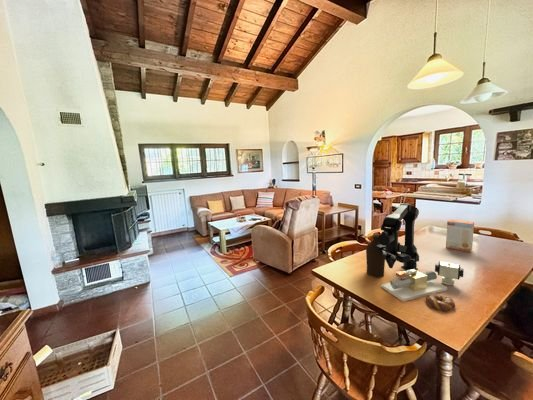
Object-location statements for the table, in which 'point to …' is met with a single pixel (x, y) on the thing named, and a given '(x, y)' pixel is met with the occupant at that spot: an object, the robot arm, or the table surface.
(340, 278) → the table surface
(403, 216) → the robot arm
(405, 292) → the mount board
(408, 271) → the valve lever
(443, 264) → the pneumatic valve
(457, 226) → the cracker box
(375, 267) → the olive oil
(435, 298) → the pretzel
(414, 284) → the valve body
